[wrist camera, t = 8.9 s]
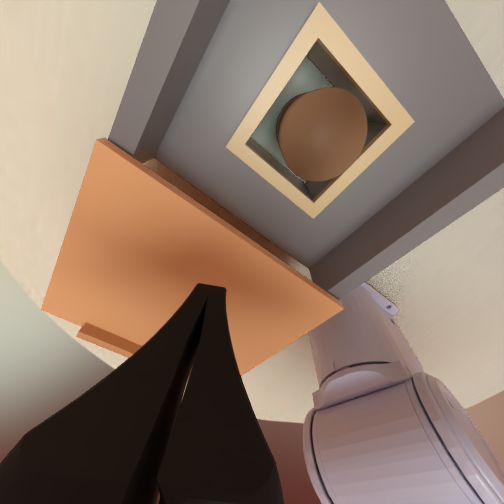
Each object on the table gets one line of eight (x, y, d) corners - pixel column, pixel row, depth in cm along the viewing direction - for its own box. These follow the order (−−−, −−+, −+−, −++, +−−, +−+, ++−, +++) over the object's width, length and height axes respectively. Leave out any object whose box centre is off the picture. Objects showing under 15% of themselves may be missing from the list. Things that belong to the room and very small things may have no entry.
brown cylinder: (346, 122, 15) (385, 130, 10) (304, 169, 17) (320, 196, 12) (304, 77, 14) (326, 62, 9) (264, 133, 16) (264, 147, 11)
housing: (467, 118, 15) (592, 126, 9) (312, 252, 21) (329, 306, 16) (289, -140, 10) (321, -466, 4) (158, 137, 16) (102, 155, 11)
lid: (341, 302, 15) (347, 318, 14) (225, 379, 21) (223, 395, 20) (104, 137, 10) (83, 142, 9) (47, 303, 17) (31, 318, 15)
